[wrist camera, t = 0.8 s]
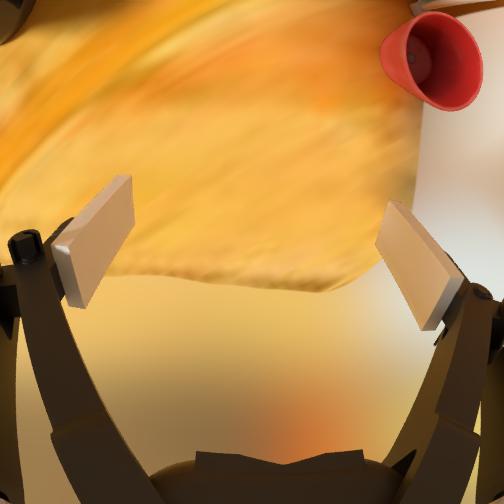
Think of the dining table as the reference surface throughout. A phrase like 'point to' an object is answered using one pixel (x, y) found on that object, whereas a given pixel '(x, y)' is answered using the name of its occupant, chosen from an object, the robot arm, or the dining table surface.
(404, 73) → the flower pot
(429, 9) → the case
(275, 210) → the dining table surface
